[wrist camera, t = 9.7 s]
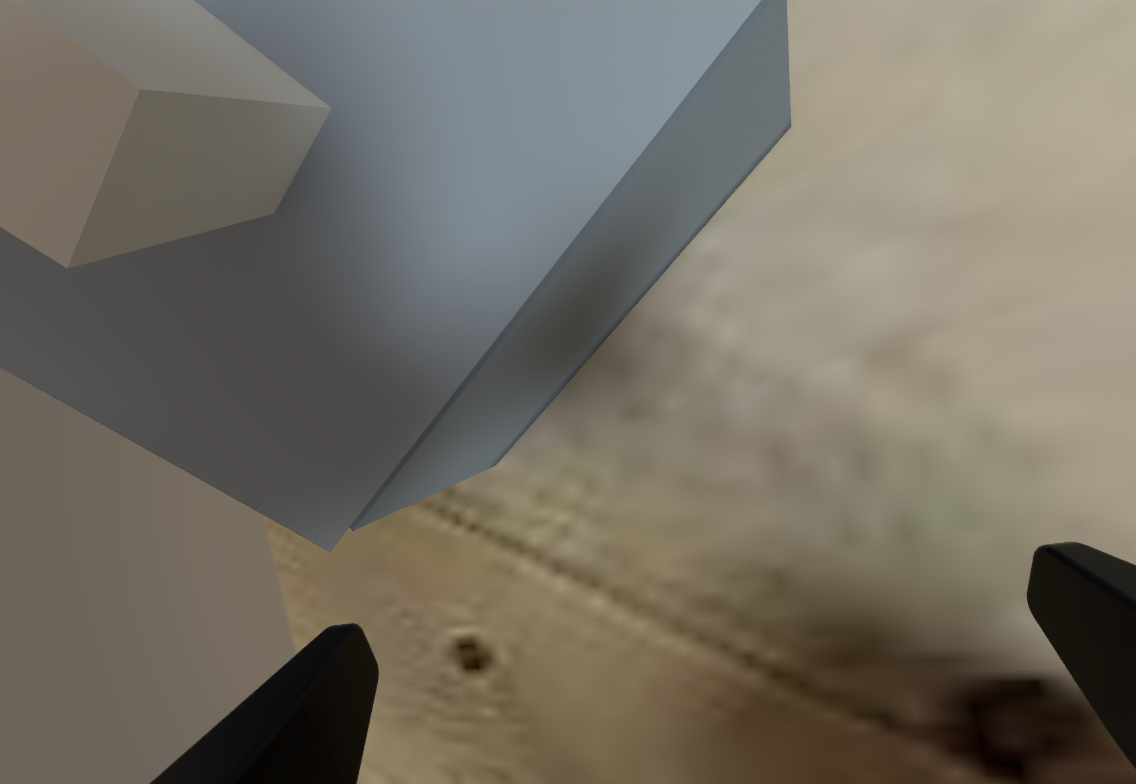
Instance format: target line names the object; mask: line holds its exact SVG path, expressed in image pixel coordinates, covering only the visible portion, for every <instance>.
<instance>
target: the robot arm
mask: <svg viewBox="0 0 1136 784" xmlns="http://www.w3.org/2000/svg"><path fill="white" fill-rule="evenodd" d="M1027 602H1028V605H1029V608H1030V611H1031V613H1032V615H1033V616H1034V618H1035V620H1036V621H1037V623H1038V624H1039V626H1040V627H1041V629H1042V631H1043V632H1044V634H1045V635H1046V637H1047V638H1048V640H1049V641H1050V643H1051V645H1052V646H1053V648H1054V649H1055V651H1056V652H1057V654H1058V655H1059V657H1060V659H1061V660H1062V662H1063V663H1064V665H1065V666H1066V668H1067V669H1068V671H1069V673H1070V674H1071V676H1072V677H1073V679H1074V680H1075V682H1076V683H1077V685H1078V687H1079V688H1080V690H1081V691H1082V693H1083V694H1084V696H1085V697H1086V699H1087V700H1088V702H1089V704H1090V705H1091V707H1092V708H1093V710H1094V711H1095V713H1096V714H1097V716H1098V718H1099V719H1100V720H1101V722H1102V723H1103V725H1104V726H1105V728H1106V729H1107V731H1108V732H1109V734H1110V735H1111V737H1112V738H1113V739H1114V741H1115V742H1116V743H1117V745H1118V746H1119V747H1120V749H1121V750H1122V751H1123V753H1124V754H1125V756H1126V757H1127V758H1128V760H1129V761H1130V762H1131V763H1132V765H1133V766H1134V767H1135V769H1136V565H1134V564H1132V563H1129V562H1127V561H1124V560H1122V559H1119V558H1117V557H1114V556H1112V555H1109V554H1107V553H1104V552H1102V551H1099V550H1097V549H1094V548H1092V547H1089V546H1087V545H1084V544H1081V543H1078V542H1064V543H1056V544H1047V545H1042V546H1040V547H1038V548H1037V550H1036V551H1035V552H1034V556H1033V561H1032V567H1031V573H1030V578H1029V584H1028V590H1027ZM378 677H379V670H378V664H377V661H376V659H375V656H374V654H373V652H372V650H371V647H370V645H369V643H368V641H367V638H366V636H365V634H364V632H363V630H362V628H361V627H360V626H359V625H358V624H354V623H351V624H342V625H334V626H330V627H328V628H326V629H325V630H324V631H323V632H322V633H320V634H319V635H318V636H317V637H316V638H315V639H314V640H312V641H311V642H310V643H309V644H308V645H307V646H306V647H304V648H303V649H302V650H301V651H300V652H299V653H298V654H296V655H295V656H294V657H293V658H292V659H291V660H290V661H289V662H287V663H286V664H285V665H284V666H283V667H282V668H281V669H279V670H278V671H277V672H276V673H275V674H274V675H273V676H271V677H270V678H269V679H268V680H267V681H266V682H265V683H263V684H262V685H261V686H260V687H259V688H258V689H257V690H256V691H254V692H253V693H252V694H251V695H250V696H249V697H248V698H246V699H245V700H244V701H243V702H242V703H241V704H240V705H238V706H237V707H236V708H235V709H234V710H233V711H232V712H230V713H229V714H228V715H227V716H226V717H225V718H224V719H222V720H221V721H220V722H219V723H218V724H217V725H216V726H214V727H213V728H212V729H211V730H210V731H209V732H208V733H207V734H205V735H204V736H203V737H202V738H201V739H200V740H199V741H197V742H196V743H195V744H194V745H193V746H192V747H191V748H190V749H188V750H187V751H186V752H185V753H184V754H183V755H181V756H180V757H179V758H178V759H177V760H176V761H175V762H174V763H172V764H171V765H170V766H169V767H168V768H167V769H165V770H164V771H163V772H162V773H161V774H160V775H159V776H157V777H156V778H155V779H154V780H153V781H152V782H151V783H150V784H357V780H358V775H359V770H360V766H361V761H362V756H363V751H364V746H365V742H366V737H367V732H368V727H369V723H370V718H371V713H372V708H373V703H374V699H375V694H376V689H377V684H378Z"/></svg>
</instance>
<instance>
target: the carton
mask: <svg viewBox="0 0 1136 784" xmlns="http://www.w3.org/2000/svg"><path fill="white" fill-rule="evenodd" d="M790 127H791V109H790V81H789V53H788V25H787V0H761V1H760V2H759V4H758V5H757V6H756V7H755V9H754V10H753V11H752V13H751V14H750V15H749V16H748V18H747V19H746V20H745V21H744V23H743V24H742V25H741V27H740V28H739V29H738V30H737V32H736V33H735V34H734V36H733V37H732V38H731V39H730V41H729V42H728V43H727V44H726V46H725V47H724V48H723V50H722V51H721V52H720V53H719V55H718V56H717V57H716V59H715V60H714V61H713V62H712V64H711V65H710V66H709V67H708V69H707V70H706V71H705V73H704V74H703V75H702V76H701V78H700V79H699V80H698V82H697V83H696V84H695V85H694V87H693V88H692V89H691V90H690V92H689V93H688V94H687V96H686V97H685V98H684V99H683V101H682V102H681V103H680V105H679V106H678V107H677V108H676V110H675V111H674V112H673V113H672V115H671V116H670V117H669V119H668V120H667V121H666V122H665V124H664V125H663V126H662V128H661V129H660V130H659V131H658V133H657V134H656V135H655V137H654V138H653V139H652V140H651V142H650V143H649V144H648V145H647V147H646V148H645V149H644V151H643V152H642V153H641V154H640V156H639V157H638V158H637V160H636V161H635V162H634V163H633V165H632V166H631V167H630V168H629V170H628V171H627V172H626V174H625V175H624V176H623V177H622V179H621V180H620V181H619V183H618V184H617V185H616V186H615V188H614V189H613V190H612V191H611V193H610V194H609V195H608V197H607V198H606V199H605V200H604V202H603V203H602V204H601V206H600V207H599V208H598V209H597V211H596V212H595V213H594V214H593V216H592V217H591V218H590V220H589V221H588V222H587V223H586V225H585V226H584V227H583V229H582V230H581V231H580V232H579V234H578V235H577V236H576V237H575V239H574V240H573V241H572V243H571V244H570V245H569V246H568V248H567V249H566V250H565V252H564V253H563V254H562V255H561V257H560V258H559V259H558V260H557V262H556V263H555V264H554V266H553V267H552V268H551V269H550V271H549V272H548V273H547V275H546V276H545V277H544V278H543V280H542V281H541V282H540V283H539V285H538V286H537V287H536V289H535V290H534V291H533V292H532V294H531V295H530V296H529V298H528V299H527V300H526V301H525V303H524V304H523V305H522V307H521V308H520V309H519V310H518V312H517V313H516V314H515V315H514V317H513V318H512V319H511V321H510V322H509V323H508V324H507V326H506V327H505V328H504V330H503V331H502V332H501V333H500V335H499V336H498V337H497V338H496V340H495V341H494V342H493V344H492V345H491V346H490V347H489V349H488V350H487V351H486V353H485V354H484V355H483V356H482V358H481V359H480V360H479V361H478V363H477V364H476V365H475V367H474V368H473V369H472V370H471V372H470V373H469V374H468V376H467V377H466V378H465V379H464V381H463V382H462V383H461V384H460V386H459V387H458V388H457V390H456V391H455V392H454V393H453V395H452V396H451V397H450V399H449V400H448V401H447V402H446V404H445V405H444V406H443V407H442V409H441V410H440V411H439V413H438V414H437V415H436V416H435V418H434V419H433V420H432V422H431V423H430V424H429V425H428V427H427V428H426V429H425V430H424V432H423V433H422V434H421V436H420V437H419V438H418V439H417V441H416V442H415V443H414V445H413V446H412V447H411V448H410V450H409V451H408V452H407V453H406V455H405V456H404V457H403V459H402V460H401V461H400V462H399V464H398V465H397V466H396V468H395V469H394V470H393V471H392V473H391V474H390V475H389V477H388V478H387V479H386V480H385V482H384V483H383V484H382V485H381V487H380V488H379V489H378V491H377V492H376V493H375V494H374V496H373V497H372V498H371V500H370V501H369V502H368V503H367V505H366V506H365V507H364V508H363V510H362V511H361V512H360V514H359V515H358V516H357V517H356V519H355V520H354V521H353V523H352V524H351V525H350V526H349V527H350V529H351V530H352V531H354V530H356V529H358V528H360V527H362V526H365V525H367V524H369V523H371V522H373V521H375V520H378V519H380V518H382V517H384V516H386V515H389V514H391V513H393V512H395V511H397V510H399V509H402V508H404V507H406V506H408V505H410V504H413V503H415V502H417V501H419V500H421V499H423V498H426V497H428V496H430V495H432V494H434V493H436V492H439V491H441V490H443V489H445V488H447V487H450V486H452V485H454V484H456V483H458V482H460V481H463V480H465V479H467V478H469V477H471V476H474V475H476V474H478V473H480V472H482V471H484V470H487V469H489V468H491V467H493V466H495V465H496V464H497V463H498V462H499V461H500V460H501V459H502V457H503V456H504V455H505V454H506V453H507V452H508V451H509V449H510V448H511V447H512V446H513V445H514V444H515V443H516V441H517V440H518V439H519V438H520V437H521V436H522V434H523V433H524V432H525V431H526V430H527V429H528V428H529V426H530V425H531V424H532V423H533V422H534V421H535V420H536V418H537V417H538V416H539V415H540V414H541V413H542V412H543V410H544V409H545V408H546V407H547V406H548V405H549V404H550V402H551V401H552V400H553V399H554V398H555V397H556V395H557V394H558V393H559V392H560V391H561V390H562V389H563V387H564V386H565V385H566V384H567V383H568V382H569V381H570V379H571V378H572V377H573V376H574V375H575V374H576V373H577V371H578V370H579V369H580V368H581V367H582V366H583V365H584V363H585V362H586V361H587V360H588V359H589V358H590V356H591V355H592V354H593V353H594V352H595V351H596V350H597V348H598V347H599V346H600V345H601V344H602V343H603V342H604V340H605V339H606V338H607V337H608V336H609V335H610V334H611V332H612V331H613V330H614V329H615V328H616V327H617V326H618V324H619V323H620V322H621V321H622V320H623V319H624V318H625V316H626V315H627V314H628V313H629V312H630V311H631V309H632V308H633V307H634V306H635V305H636V304H637V303H638V301H639V300H640V299H641V298H642V297H643V296H644V295H645V293H646V292H647V291H648V290H649V289H650V288H651V287H652V285H653V284H654V283H655V282H656V281H657V280H658V279H659V277H660V276H661V275H662V274H663V273H664V272H665V270H666V269H667V268H668V267H669V266H670V265H671V264H672V262H673V261H674V260H675V259H676V258H677V257H678V256H679V254H680V253H681V252H682V251H683V250H684V249H685V248H686V246H687V245H688V244H689V243H690V242H691V241H692V240H693V238H694V237H695V236H696V235H697V234H698V233H699V231H700V230H701V229H702V228H703V227H704V226H705V225H706V223H707V222H708V221H709V220H710V219H711V218H712V217H713V215H714V214H715V213H716V212H717V211H718V210H719V209H720V207H721V206H722V205H723V204H724V203H725V202H726V201H727V199H728V198H729V197H730V196H731V195H732V194H733V193H734V191H735V190H736V189H737V188H738V187H739V186H740V184H741V183H742V182H743V181H744V180H745V179H746V178H747V176H748V175H749V174H750V173H751V172H752V171H753V170H754V168H755V167H756V166H757V165H758V164H759V163H760V162H761V160H762V159H763V158H764V157H765V156H766V155H767V154H768V152H769V151H770V150H771V149H772V148H773V147H774V145H775V144H776V143H777V142H778V141H779V140H780V139H781V137H782V136H783V135H784V134H785V133H786V132H787V131H788V129H789V128H790Z"/></svg>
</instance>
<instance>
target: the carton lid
mask: <svg viewBox="0 0 1136 784" xmlns="http://www.w3.org/2000/svg"><path fill="white" fill-rule="evenodd" d="M760 1H761V0H0V367H1V368H2V369H4V370H6V371H8V372H10V373H12V374H13V375H15V376H17V377H18V378H20V379H22V380H24V381H26V382H27V383H29V384H31V385H33V386H35V387H36V388H38V389H40V390H42V391H44V392H45V393H47V394H49V395H51V396H53V397H54V398H56V399H58V400H60V401H61V402H63V403H65V404H67V405H68V406H70V407H72V408H74V409H76V410H77V411H79V412H81V413H83V414H84V415H86V416H88V417H90V418H92V419H93V420H95V421H97V422H99V423H101V424H102V425H104V426H106V427H108V428H109V429H111V430H113V431H115V432H117V433H119V434H120V435H122V436H124V437H126V438H127V439H129V440H131V441H133V442H134V443H136V444H138V445H140V446H142V447H143V448H145V449H147V450H149V451H151V452H152V453H154V454H156V455H158V456H159V457H161V458H163V459H165V460H167V461H168V462H170V463H172V464H174V465H175V466H177V467H179V468H181V469H183V470H185V471H186V472H188V473H190V474H192V475H193V476H195V477H197V478H199V479H200V480H202V481H204V482H206V483H208V484H210V485H211V486H213V487H215V488H217V489H218V490H220V491H222V492H224V493H225V494H227V495H229V496H231V497H233V498H235V499H236V500H238V501H240V502H242V503H243V504H245V505H247V506H249V507H250V508H252V509H254V510H256V511H258V512H259V513H261V514H263V515H265V516H266V517H268V518H270V519H272V520H274V521H275V522H277V523H279V524H281V525H282V526H284V527H286V528H288V529H290V530H291V531H293V532H295V533H297V534H299V535H300V536H302V537H304V538H306V539H307V540H309V541H311V542H313V543H315V544H316V545H318V546H320V547H322V548H324V549H325V550H327V551H329V552H330V551H331V549H332V548H333V547H334V546H335V544H336V543H337V542H338V540H339V539H340V538H341V537H342V535H343V534H344V533H345V531H346V530H347V529H348V528H349V526H350V525H351V524H352V523H353V521H354V520H355V519H356V517H357V516H358V515H359V514H360V512H361V511H362V510H363V508H364V507H365V506H366V505H367V503H368V502H369V501H370V500H371V498H372V497H373V496H374V494H375V493H376V492H377V491H378V489H379V488H380V487H381V485H382V484H383V483H384V482H385V480H386V479H387V478H388V477H389V475H390V474H391V473H392V471H393V470H394V469H395V468H396V466H397V465H398V464H399V462H400V461H401V460H402V459H403V457H404V456H405V455H406V453H407V452H408V451H409V450H410V448H411V447H412V446H413V445H414V443H415V442H416V441H417V439H418V438H419V437H420V436H421V434H422V433H423V432H424V430H425V429H426V428H427V427H428V425H429V424H430V423H431V422H432V420H433V419H434V418H435V416H436V415H437V414H438V413H439V411H440V410H441V409H442V407H443V406H444V405H445V404H446V402H447V401H448V400H449V399H450V397H451V396H452V395H453V393H454V392H455V391H456V390H457V388H458V387H459V386H460V384H461V383H462V382H463V381H464V379H465V378H466V377H467V376H468V374H469V373H470V372H471V370H472V369H473V368H474V367H475V365H476V364H477V363H478V361H479V360H480V359H481V358H482V356H483V355H484V354H485V353H486V351H487V350H488V349H489V347H490V346H491V345H492V344H493V342H494V341H495V340H496V338H497V337H498V336H499V335H500V333H501V332H502V331H503V330H504V328H505V327H506V326H507V324H508V323H509V322H510V321H511V319H512V318H513V317H514V315H515V314H516V313H517V312H518V310H519V309H520V308H521V307H522V305H523V304H524V303H525V301H526V300H527V299H528V298H529V296H530V295H531V294H532V292H533V291H534V290H535V289H536V287H537V286H538V285H539V283H540V282H541V281H542V280H543V278H544V277H545V276H546V275H547V273H548V272H549V271H550V269H551V268H552V267H553V266H554V264H555V263H556V262H557V260H558V259H559V258H560V257H561V255H562V254H563V253H564V252H565V250H566V249H567V248H568V246H569V245H570V244H571V243H572V241H573V240H574V239H575V237H576V236H577V235H578V234H579V232H580V231H581V230H582V229H583V227H584V226H585V225H586V223H587V222H588V221H589V220H590V218H591V217H592V216H593V214H594V213H595V212H596V211H597V209H598V208H599V207H600V206H601V204H602V203H603V202H604V200H605V199H606V198H607V197H608V195H609V194H610V193H611V191H612V190H613V189H614V188H615V186H616V185H617V184H618V183H619V181H620V180H621V179H622V177H623V176H624V175H625V174H626V172H627V171H628V170H629V168H630V167H631V166H632V165H633V163H634V162H635V161H636V160H637V158H638V157H639V156H640V154H641V153H642V152H643V151H644V149H645V148H646V147H647V145H648V144H649V143H650V142H651V140H652V139H653V138H654V137H655V135H656V134H657V133H658V131H659V130H660V129H661V128H662V126H663V125H664V124H665V122H666V121H667V120H668V119H669V117H670V116H671V115H672V113H673V112H674V111H675V110H676V108H677V107H678V106H679V105H680V103H681V102H682V101H683V99H684V98H685V97H686V96H687V94H688V93H689V92H690V90H691V89H692V88H693V87H694V85H695V84H696V83H697V82H698V80H699V79H700V78H701V76H702V75H703V74H704V73H705V71H706V70H707V69H708V67H709V66H710V65H711V64H712V62H713V61H714V60H715V59H716V57H717V56H718V55H719V53H720V52H721V51H722V50H723V48H724V47H725V46H726V44H727V43H728V42H729V41H730V39H731V38H732V37H733V36H734V34H735V33H736V32H737V30H738V29H739V28H740V27H741V25H742V24H743V23H744V21H745V20H746V19H747V18H748V16H749V15H750V14H751V13H752V11H753V10H754V9H755V7H756V6H757V5H758V4H759V2H760Z"/></svg>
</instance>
